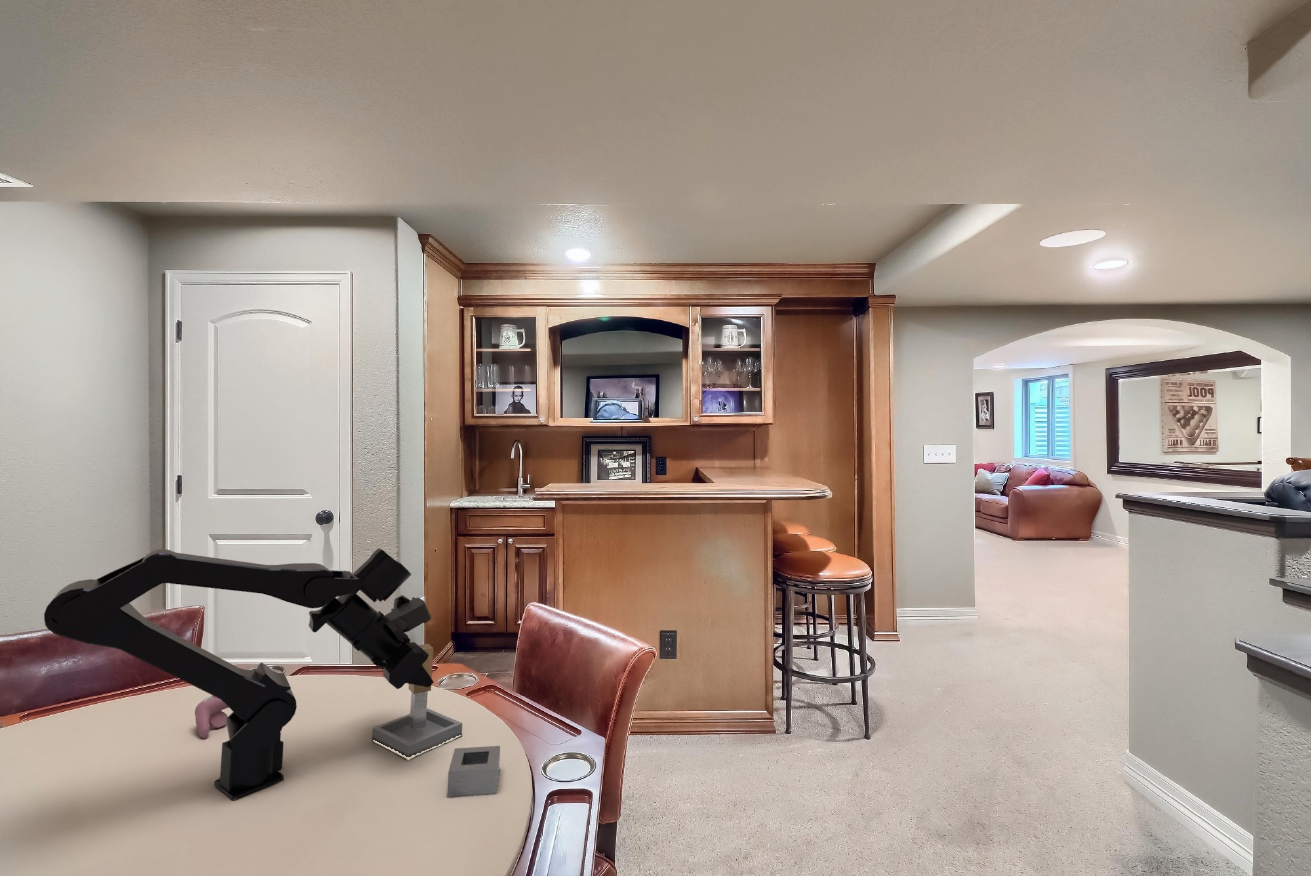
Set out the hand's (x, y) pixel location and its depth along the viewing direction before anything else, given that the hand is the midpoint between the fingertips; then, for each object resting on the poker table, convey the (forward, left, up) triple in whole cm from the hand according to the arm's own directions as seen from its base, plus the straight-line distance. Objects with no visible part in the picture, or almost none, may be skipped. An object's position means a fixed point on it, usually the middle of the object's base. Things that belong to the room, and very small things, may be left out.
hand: (428, 681), depth 98 cm
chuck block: (-4, -18, -9) cm, 20 cm away
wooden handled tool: (-1, 0, -7) cm, 7 cm away
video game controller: (-17, +29, -9) cm, 35 cm away
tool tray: (-1, 0, -9) cm, 9 cm away
